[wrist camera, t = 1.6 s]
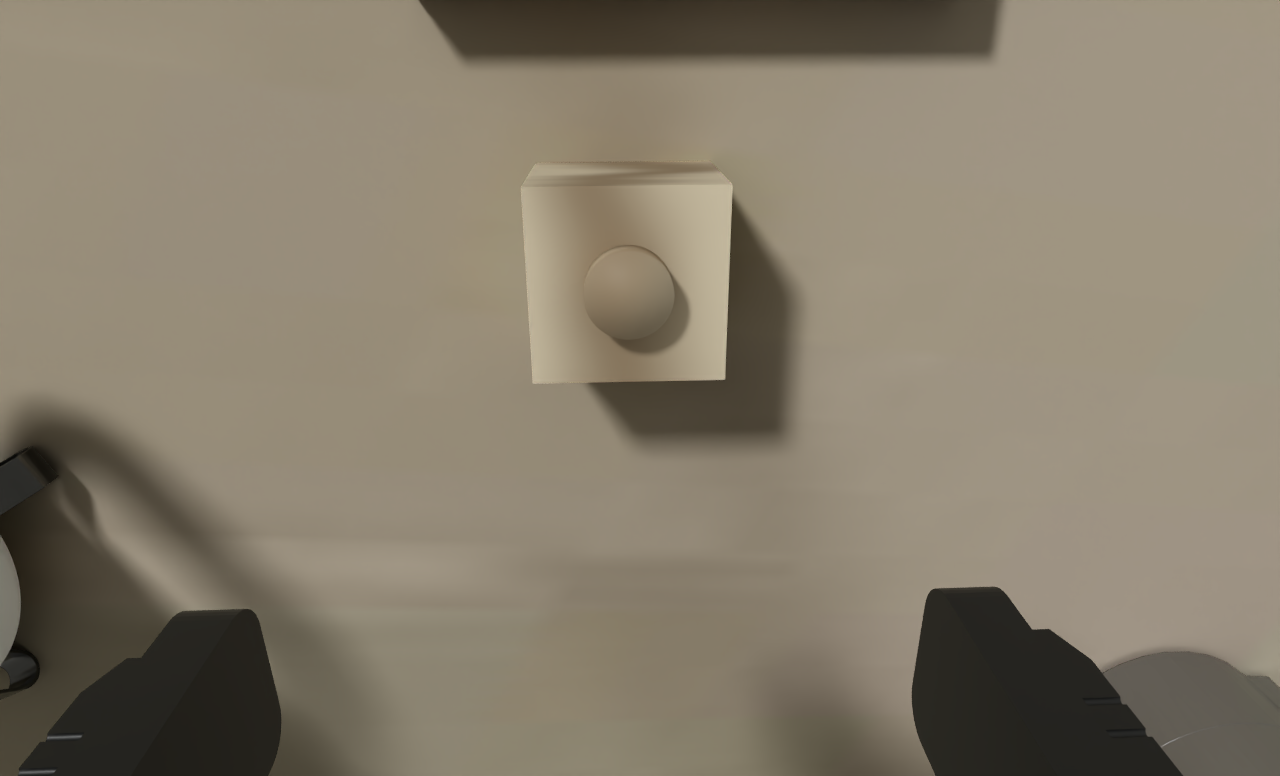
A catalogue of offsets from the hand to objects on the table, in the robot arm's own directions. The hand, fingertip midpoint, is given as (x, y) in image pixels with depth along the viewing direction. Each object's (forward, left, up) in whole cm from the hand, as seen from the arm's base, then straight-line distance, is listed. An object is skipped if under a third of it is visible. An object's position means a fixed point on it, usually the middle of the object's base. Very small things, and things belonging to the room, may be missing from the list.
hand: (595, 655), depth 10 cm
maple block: (-1, -1, -18) cm, 19 cm away
